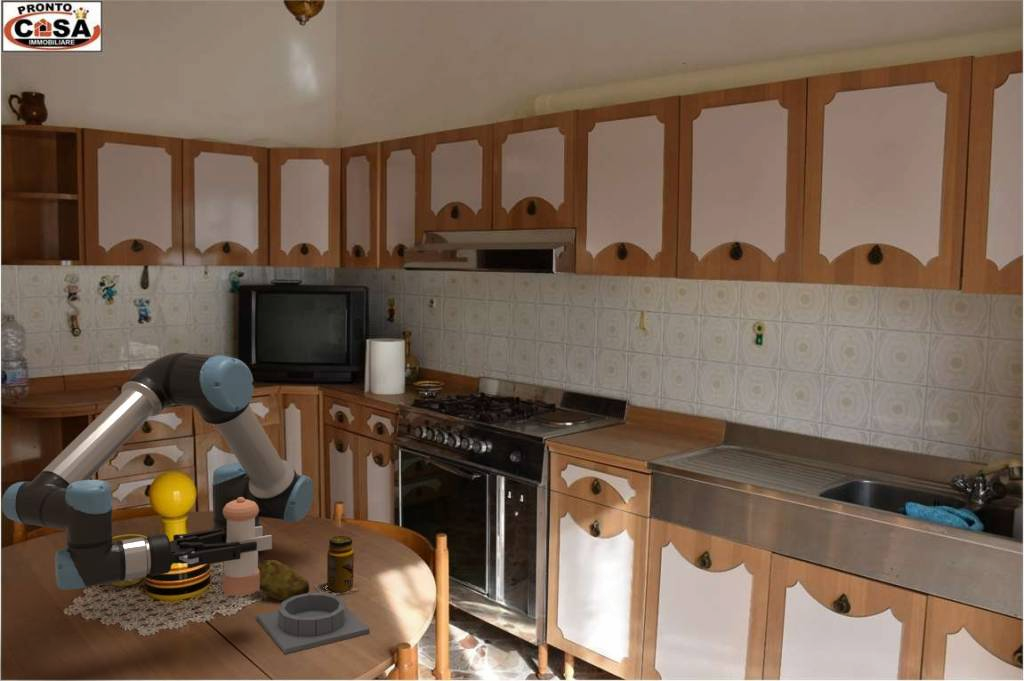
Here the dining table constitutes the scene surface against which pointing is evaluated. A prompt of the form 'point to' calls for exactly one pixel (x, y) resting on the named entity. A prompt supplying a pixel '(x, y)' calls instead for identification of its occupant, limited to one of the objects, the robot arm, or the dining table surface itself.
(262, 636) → the dining table surface
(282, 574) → the potato
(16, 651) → the dining table surface
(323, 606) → the collar stand
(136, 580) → the plant pot
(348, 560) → the condiment
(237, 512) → the salt shaker
